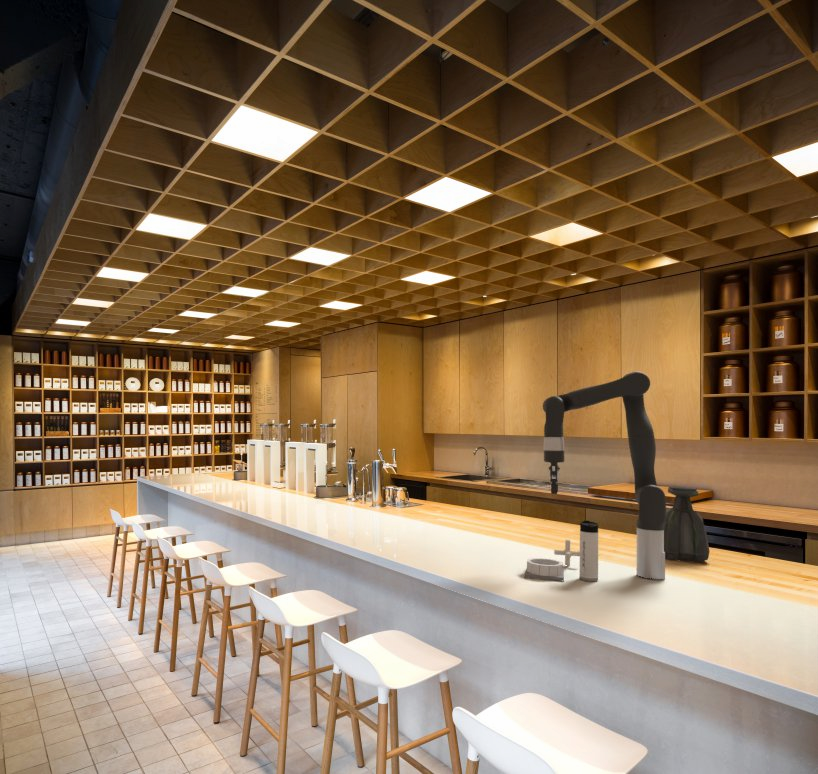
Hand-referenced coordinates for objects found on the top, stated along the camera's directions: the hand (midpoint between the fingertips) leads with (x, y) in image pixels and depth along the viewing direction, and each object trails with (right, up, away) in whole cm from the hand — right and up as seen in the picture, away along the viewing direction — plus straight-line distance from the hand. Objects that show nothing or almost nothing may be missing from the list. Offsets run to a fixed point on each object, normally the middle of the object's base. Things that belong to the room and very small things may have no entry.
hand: (554, 493), depth 216 cm
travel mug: (+9, -28, -13) cm, 32 cm away
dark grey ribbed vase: (+63, -34, +32) cm, 79 cm away
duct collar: (-6, -28, -9) cm, 30 cm away
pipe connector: (+7, -30, +7) cm, 31 cm away
